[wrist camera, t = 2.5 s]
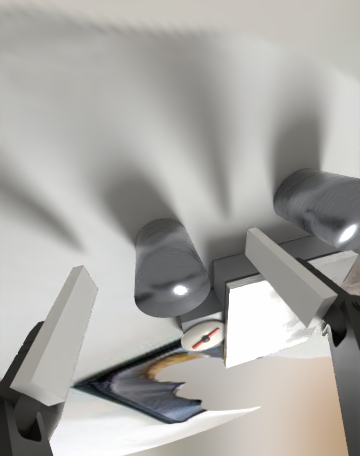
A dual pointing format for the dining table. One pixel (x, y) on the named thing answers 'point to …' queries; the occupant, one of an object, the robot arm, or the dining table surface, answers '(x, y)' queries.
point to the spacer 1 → (168, 271)
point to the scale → (216, 300)
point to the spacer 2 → (322, 206)
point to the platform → (269, 313)
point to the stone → (353, 277)
